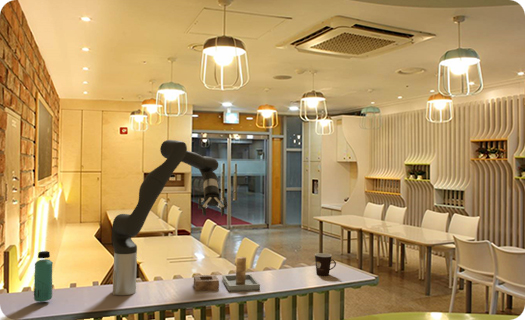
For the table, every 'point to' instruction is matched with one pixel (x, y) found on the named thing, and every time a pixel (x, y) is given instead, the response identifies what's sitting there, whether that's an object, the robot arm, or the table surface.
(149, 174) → the robot arm
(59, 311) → the table surface
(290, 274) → the table surface
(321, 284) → the table surface
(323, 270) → the coffee mug
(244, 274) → the oak dowel
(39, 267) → the beverage bottle
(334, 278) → the table surface
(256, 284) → the slate grey tray
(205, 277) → the walnut block
